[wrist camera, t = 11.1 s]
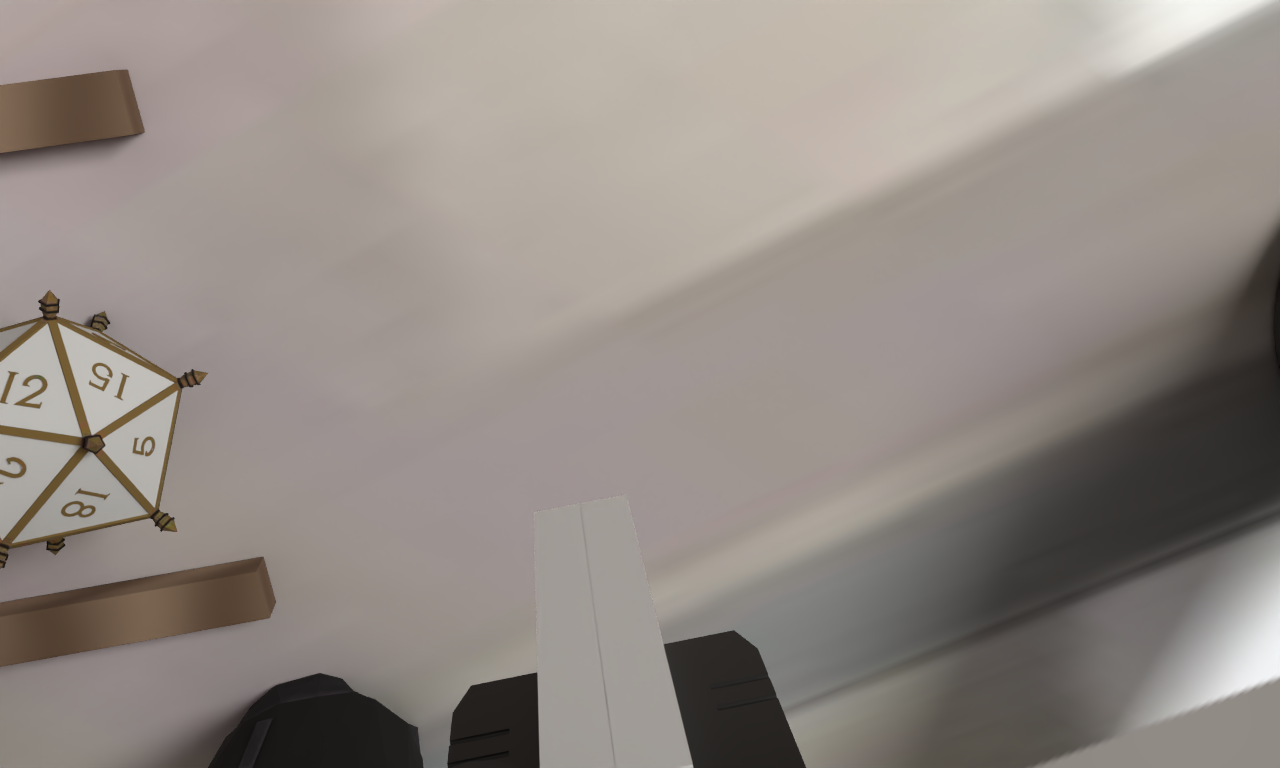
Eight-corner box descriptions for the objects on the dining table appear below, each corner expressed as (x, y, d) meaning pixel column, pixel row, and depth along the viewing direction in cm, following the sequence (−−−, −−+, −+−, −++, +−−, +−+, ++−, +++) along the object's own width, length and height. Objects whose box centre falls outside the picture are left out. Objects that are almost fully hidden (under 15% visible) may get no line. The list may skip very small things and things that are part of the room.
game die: (151, 410, 40) (61, 652, 34) (-79, 299, 35) (-231, 564, 29) (284, 322, 36) (206, 587, 30) (42, 179, 30) (-110, 466, 24)
